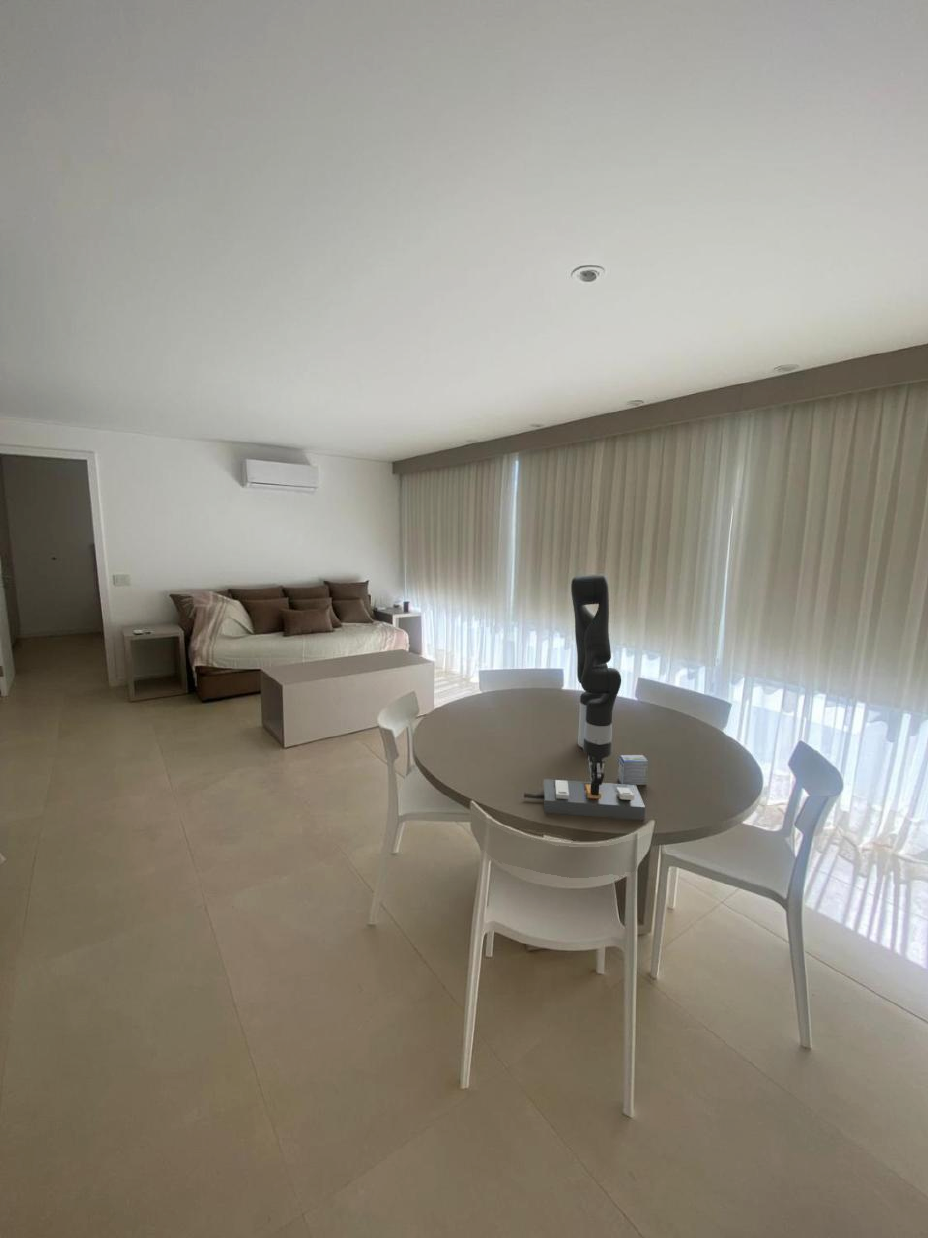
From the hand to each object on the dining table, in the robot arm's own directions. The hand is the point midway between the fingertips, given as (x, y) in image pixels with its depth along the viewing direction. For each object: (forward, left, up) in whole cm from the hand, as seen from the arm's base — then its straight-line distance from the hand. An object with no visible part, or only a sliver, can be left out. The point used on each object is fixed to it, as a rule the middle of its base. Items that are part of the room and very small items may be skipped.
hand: (594, 794), depth 137 cm
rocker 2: (-3, 0, -1) cm, 3 cm away
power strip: (-5, -3, -7) cm, 9 cm away
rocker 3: (-3, +9, -1) cm, 10 cm away
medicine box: (-20, +15, -7) cm, 26 cm away
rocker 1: (-3, -9, -1) cm, 9 cm away
